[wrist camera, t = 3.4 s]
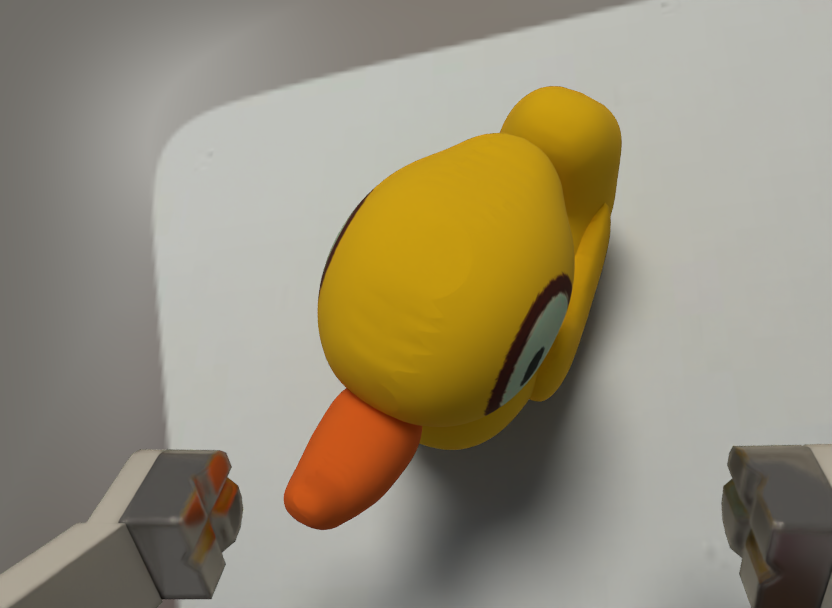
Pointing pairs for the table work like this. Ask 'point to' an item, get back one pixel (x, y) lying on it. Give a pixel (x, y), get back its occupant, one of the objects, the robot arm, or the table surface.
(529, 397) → the duckling
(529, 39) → the table surface
